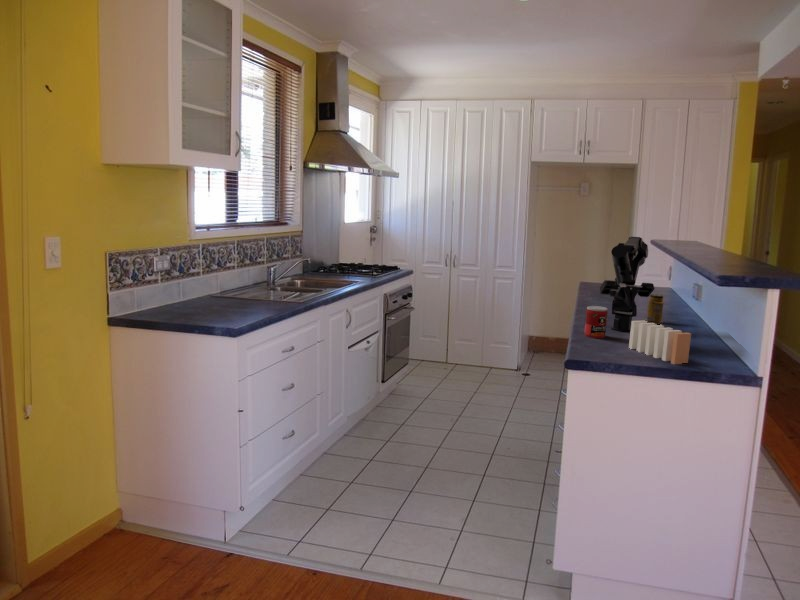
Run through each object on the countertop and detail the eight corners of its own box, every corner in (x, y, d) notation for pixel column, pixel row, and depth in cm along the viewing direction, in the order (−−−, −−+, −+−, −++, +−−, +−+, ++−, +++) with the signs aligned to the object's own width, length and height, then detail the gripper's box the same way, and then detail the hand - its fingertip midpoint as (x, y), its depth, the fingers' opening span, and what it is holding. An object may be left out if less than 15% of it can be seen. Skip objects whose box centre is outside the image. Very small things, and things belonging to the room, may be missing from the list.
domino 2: (636, 351, 229) (639, 323, 227) (649, 350, 231) (652, 322, 229) (639, 352, 228) (642, 324, 226) (652, 351, 230) (655, 323, 228)
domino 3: (644, 354, 225) (647, 325, 224) (657, 353, 227) (660, 325, 226) (647, 355, 224) (651, 326, 222) (660, 354, 226) (664, 325, 224)
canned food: (591, 338, 247) (594, 309, 245) (580, 333, 254) (582, 305, 252) (609, 338, 249) (612, 309, 247) (597, 333, 256) (600, 305, 255)
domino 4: (652, 357, 222) (656, 327, 220) (666, 356, 224) (669, 327, 222) (656, 358, 220) (659, 329, 219) (669, 357, 222) (672, 328, 221)
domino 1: (628, 348, 233) (631, 320, 231) (641, 348, 235) (644, 320, 233) (631, 349, 231) (634, 321, 230) (644, 349, 233) (647, 321, 232)
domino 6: (670, 363, 214) (674, 333, 213) (683, 362, 216) (687, 332, 215) (674, 364, 213) (677, 334, 211) (687, 363, 215) (691, 333, 213)
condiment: (662, 322, 288) (665, 295, 286) (661, 325, 280) (664, 297, 278) (644, 320, 291) (647, 293, 289) (643, 323, 283) (646, 295, 281)
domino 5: (661, 360, 218) (665, 330, 216) (674, 359, 220) (678, 329, 218) (665, 361, 217) (668, 331, 215) (678, 360, 219) (681, 330, 217)
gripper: (638, 286, 255) (646, 320, 247) (591, 283, 254) (598, 317, 245) (650, 269, 246) (659, 304, 237) (602, 266, 245) (609, 301, 236)
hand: (631, 307), depth 239 cm, fingers closed
